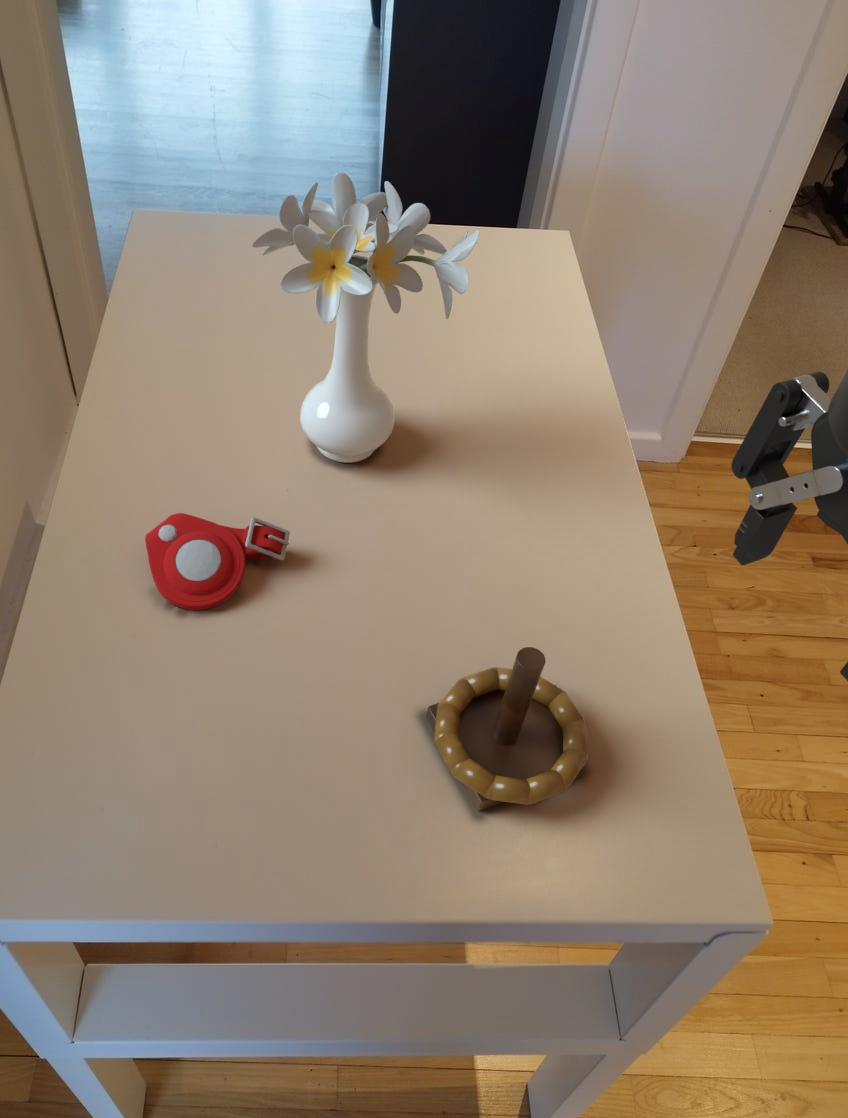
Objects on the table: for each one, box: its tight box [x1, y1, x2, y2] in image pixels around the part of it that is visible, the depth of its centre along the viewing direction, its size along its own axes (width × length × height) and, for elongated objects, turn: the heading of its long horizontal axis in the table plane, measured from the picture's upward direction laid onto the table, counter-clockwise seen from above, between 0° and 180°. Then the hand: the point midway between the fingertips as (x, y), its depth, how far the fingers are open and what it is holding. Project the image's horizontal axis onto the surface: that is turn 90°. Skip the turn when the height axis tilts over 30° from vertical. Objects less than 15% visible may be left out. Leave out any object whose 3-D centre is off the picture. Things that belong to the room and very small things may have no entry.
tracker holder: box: [144, 512, 291, 611], centre depth 80 cm, size 12×4×10 cm
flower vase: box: [252, 171, 481, 464], centre depth 82 cm, size 13×18×25 cm
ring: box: [433, 666, 589, 806], centre depth 69 cm, size 12×12×2 cm
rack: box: [425, 646, 563, 812], centre depth 67 cm, size 9×9×12 cm
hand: (801, 612), depth 48 cm, fingers open, 8 cm apart
